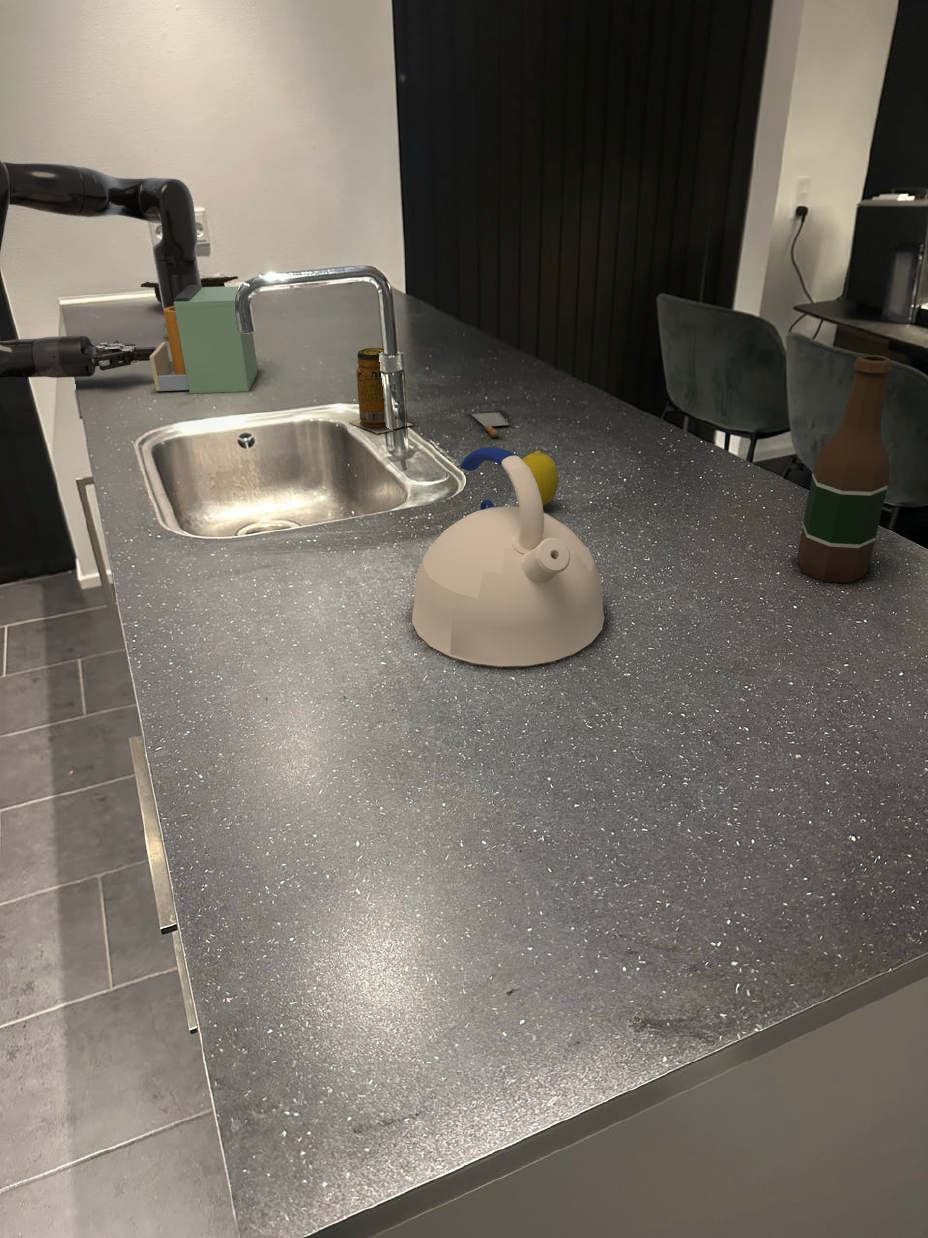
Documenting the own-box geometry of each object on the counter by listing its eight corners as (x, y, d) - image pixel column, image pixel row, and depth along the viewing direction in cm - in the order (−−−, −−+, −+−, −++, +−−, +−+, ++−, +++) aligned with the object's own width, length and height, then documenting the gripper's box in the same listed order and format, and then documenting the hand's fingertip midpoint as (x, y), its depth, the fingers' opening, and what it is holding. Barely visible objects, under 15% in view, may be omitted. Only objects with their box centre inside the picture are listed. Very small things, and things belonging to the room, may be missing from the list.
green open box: (202, 373, 181) (188, 284, 173) (258, 371, 182) (246, 282, 173) (189, 393, 169) (173, 298, 161) (248, 391, 170) (235, 296, 161)
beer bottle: (859, 591, 99) (909, 371, 87) (787, 574, 102) (825, 361, 90) (873, 563, 104) (922, 353, 92) (804, 548, 108) (843, 344, 96)
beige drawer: (168, 375, 180) (162, 341, 176) (223, 373, 180) (218, 339, 177) (155, 391, 170) (149, 356, 167) (214, 388, 171) (208, 354, 167)
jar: (179, 374, 177) (167, 305, 171) (210, 373, 177) (199, 304, 171) (173, 382, 172) (160, 312, 165) (205, 381, 172) (193, 311, 166)
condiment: (383, 414, 156) (379, 343, 150) (412, 425, 151) (409, 352, 144) (348, 423, 152) (342, 351, 146) (376, 435, 147) (371, 361, 141)
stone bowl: (192, 321, 222) (183, 281, 218) (127, 318, 235) (117, 281, 231) (262, 301, 240) (255, 264, 235) (198, 300, 253) (190, 265, 248)
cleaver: (498, 415, 156) (470, 417, 155) (498, 408, 156) (470, 410, 155) (520, 436, 145) (490, 439, 144) (520, 428, 144) (490, 431, 143)
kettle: (458, 691, 84) (454, 512, 75) (385, 594, 100) (373, 437, 91) (644, 642, 90) (660, 472, 81) (546, 558, 107) (551, 409, 98)
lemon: (529, 520, 117) (530, 461, 113) (508, 505, 121) (508, 448, 117) (565, 511, 119) (567, 453, 115) (543, 497, 123) (544, 441, 119)
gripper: (47, 345, 164) (144, 341, 164) (70, 328, 175) (160, 325, 176) (58, 386, 167) (152, 382, 168) (79, 367, 179) (167, 364, 180)
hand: (156, 353), depth 172 cm, fingers closed
